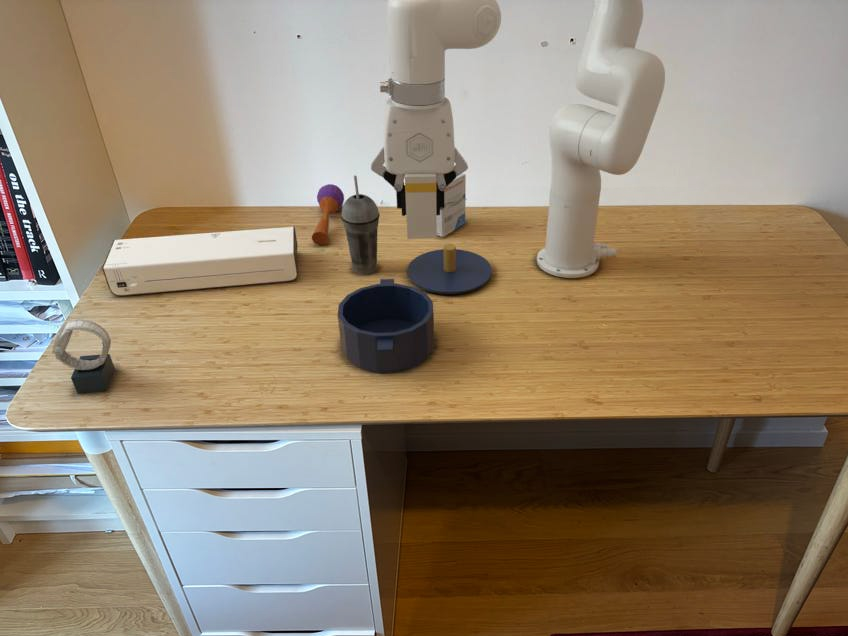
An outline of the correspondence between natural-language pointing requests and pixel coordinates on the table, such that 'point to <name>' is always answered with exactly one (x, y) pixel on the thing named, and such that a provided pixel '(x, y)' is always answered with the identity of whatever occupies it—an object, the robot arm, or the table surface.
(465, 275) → the tin lid
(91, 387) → the watch
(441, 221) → the ink box
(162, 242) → the laminator
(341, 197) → the kendama
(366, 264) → the beverage cup
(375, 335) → the tin
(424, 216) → the packet
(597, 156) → the robot arm
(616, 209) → the table surface
